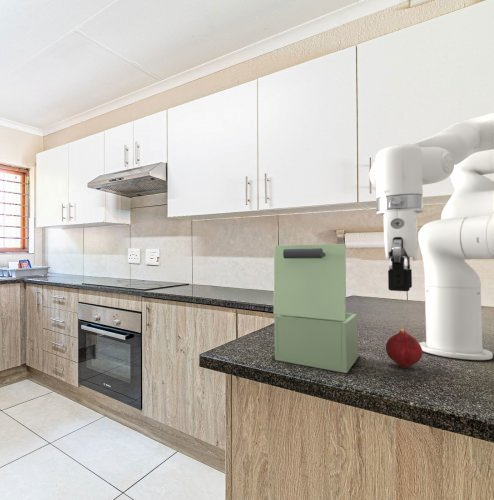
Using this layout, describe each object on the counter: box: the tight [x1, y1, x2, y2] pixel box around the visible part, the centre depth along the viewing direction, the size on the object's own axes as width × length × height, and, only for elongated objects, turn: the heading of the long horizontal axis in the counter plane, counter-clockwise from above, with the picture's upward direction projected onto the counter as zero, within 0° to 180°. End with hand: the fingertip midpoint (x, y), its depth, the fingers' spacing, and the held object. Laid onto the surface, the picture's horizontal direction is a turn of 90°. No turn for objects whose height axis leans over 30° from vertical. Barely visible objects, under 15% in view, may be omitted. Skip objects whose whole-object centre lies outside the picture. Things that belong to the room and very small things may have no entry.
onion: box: [385, 328, 423, 369], centre depth 71 cm, size 6×6×8 cm
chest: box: [273, 312, 359, 374], centre depth 78 cm, size 15×14×10 cm
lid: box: [273, 243, 347, 321], centre depth 72 cm, size 15×14×5 cm
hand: (400, 289), depth 71 cm, fingers open, 9 cm apart
